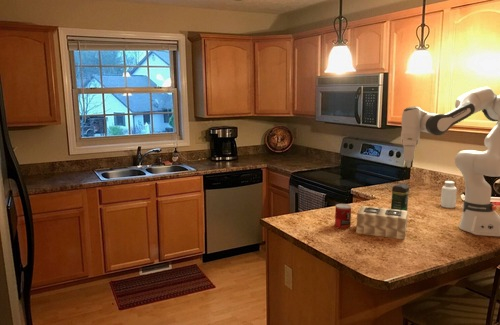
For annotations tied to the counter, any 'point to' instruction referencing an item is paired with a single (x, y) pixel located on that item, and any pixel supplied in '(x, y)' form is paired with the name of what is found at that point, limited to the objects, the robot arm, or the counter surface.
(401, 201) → the coffee jar
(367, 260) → the counter surface
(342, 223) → the canned food
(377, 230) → the socket block
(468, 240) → the counter surface
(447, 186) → the pill bottle
